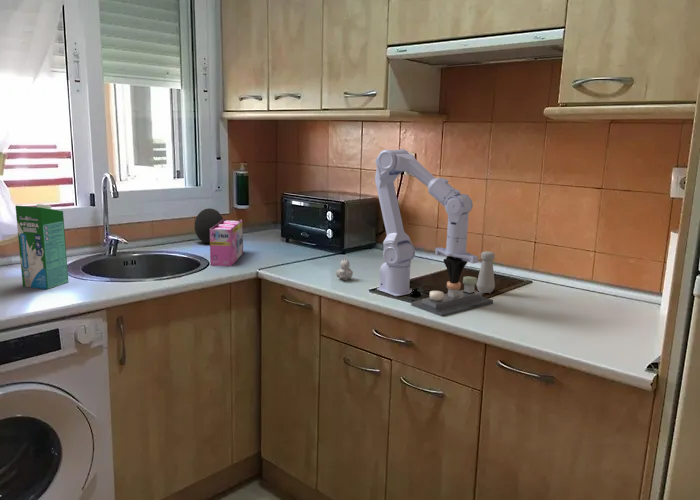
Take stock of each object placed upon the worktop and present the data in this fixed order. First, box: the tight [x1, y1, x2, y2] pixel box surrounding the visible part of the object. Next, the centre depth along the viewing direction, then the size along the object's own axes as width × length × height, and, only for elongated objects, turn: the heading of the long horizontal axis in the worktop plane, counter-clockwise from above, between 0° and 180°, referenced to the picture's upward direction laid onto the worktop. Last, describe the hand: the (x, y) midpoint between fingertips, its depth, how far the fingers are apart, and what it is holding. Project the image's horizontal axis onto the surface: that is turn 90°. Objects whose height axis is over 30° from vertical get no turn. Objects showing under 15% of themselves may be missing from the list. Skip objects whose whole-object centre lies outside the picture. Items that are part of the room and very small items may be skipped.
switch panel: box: [410, 289, 494, 317], centre depth 171 cm, size 12×22×3 cm, turn 128°
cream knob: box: [428, 290, 445, 302], centre depth 167 cm, size 4×4×4 cm
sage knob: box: [462, 275, 478, 293], centre depth 175 cm, size 4×4×4 cm
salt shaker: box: [475, 250, 496, 294], centre depth 185 cm, size 6×6×13 cm
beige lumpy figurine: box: [336, 256, 354, 281], centre depth 195 cm, size 5×7×8 cm
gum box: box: [209, 218, 244, 267], centre depth 221 cm, size 24×8×14 cm, turn 179°
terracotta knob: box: [446, 280, 462, 298], centre depth 171 cm, size 4×4×4 cm
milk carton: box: [15, 203, 69, 290], centre depth 179 cm, size 9×9×25 cm
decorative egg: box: [194, 208, 224, 245], centre depth 248 cm, size 12×12×15 cm
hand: (454, 282), depth 170 cm, fingers closed, pressing on terracotta knob
